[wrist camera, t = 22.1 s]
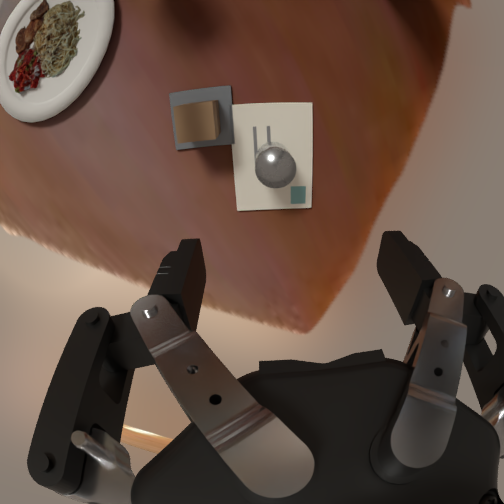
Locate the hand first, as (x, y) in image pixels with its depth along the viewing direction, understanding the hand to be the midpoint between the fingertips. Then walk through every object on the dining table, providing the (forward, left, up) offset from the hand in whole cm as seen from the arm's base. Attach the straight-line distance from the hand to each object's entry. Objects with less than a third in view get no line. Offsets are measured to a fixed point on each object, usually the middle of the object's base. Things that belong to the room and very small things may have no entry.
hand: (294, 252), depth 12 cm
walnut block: (+9, -3, -32) cm, 33 cm away
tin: (-1, +4, -32) cm, 32 cm away
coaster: (+9, -3, -32) cm, 33 cm away
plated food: (+36, -24, -33) cm, 54 cm away
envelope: (-1, +4, -32) cm, 32 cm away
